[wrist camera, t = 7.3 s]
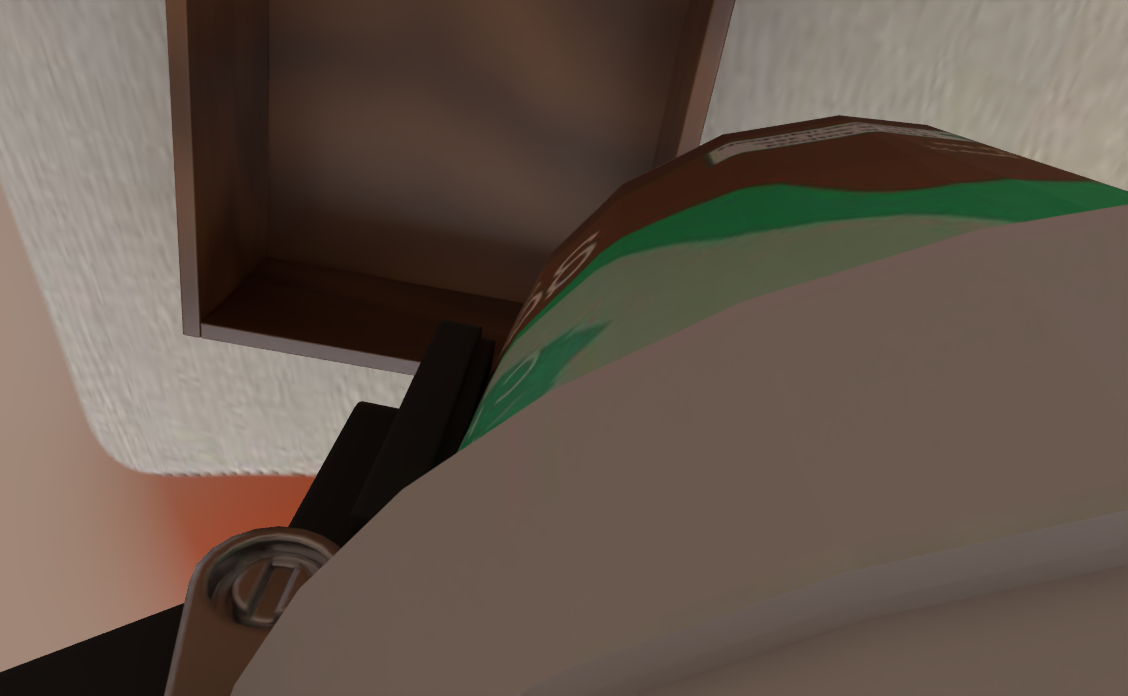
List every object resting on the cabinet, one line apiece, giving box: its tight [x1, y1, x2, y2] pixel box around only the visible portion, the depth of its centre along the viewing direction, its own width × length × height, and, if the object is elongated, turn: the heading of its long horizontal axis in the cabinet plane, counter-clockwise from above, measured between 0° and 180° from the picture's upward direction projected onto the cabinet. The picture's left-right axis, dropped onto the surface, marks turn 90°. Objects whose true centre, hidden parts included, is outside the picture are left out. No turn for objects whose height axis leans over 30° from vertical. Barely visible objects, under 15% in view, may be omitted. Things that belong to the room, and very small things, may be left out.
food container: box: [231, 115, 1128, 696], centre depth 8 cm, size 12×6×10 cm, turn 170°
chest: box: [166, 0, 735, 376], centre depth 26 cm, size 16×15×7 cm
